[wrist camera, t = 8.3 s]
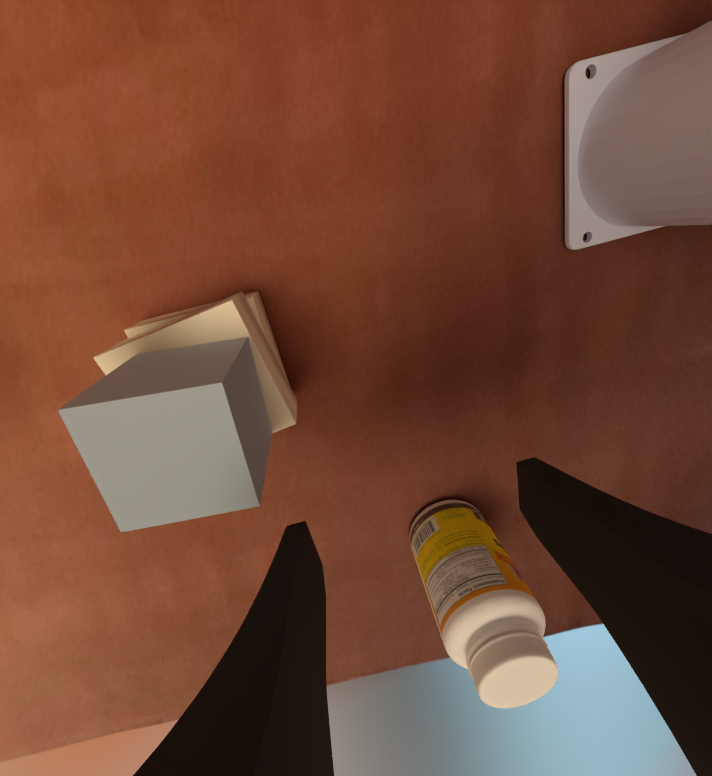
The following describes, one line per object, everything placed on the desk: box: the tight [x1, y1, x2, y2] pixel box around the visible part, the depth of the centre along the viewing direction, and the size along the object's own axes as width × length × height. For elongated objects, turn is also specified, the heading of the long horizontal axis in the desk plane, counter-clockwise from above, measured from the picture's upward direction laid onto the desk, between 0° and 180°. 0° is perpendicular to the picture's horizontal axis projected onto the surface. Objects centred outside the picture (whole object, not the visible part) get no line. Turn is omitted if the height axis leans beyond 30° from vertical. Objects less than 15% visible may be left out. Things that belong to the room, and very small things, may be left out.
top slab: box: [94, 292, 297, 433], centre depth 17 cm, size 6×6×2 cm
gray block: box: [58, 337, 273, 532], centre depth 13 cm, size 4×4×5 cm
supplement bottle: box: [409, 500, 558, 708], centre depth 22 cm, size 6×6×10 cm
